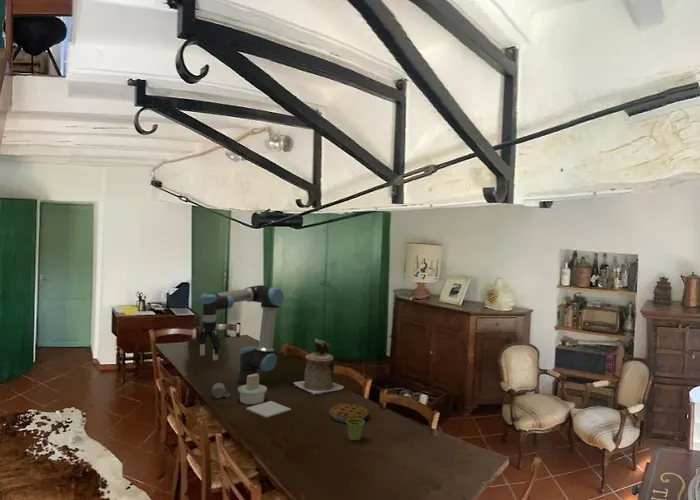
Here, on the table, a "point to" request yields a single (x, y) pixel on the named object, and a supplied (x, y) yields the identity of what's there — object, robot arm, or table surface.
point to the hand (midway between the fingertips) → (208, 357)
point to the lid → (252, 386)
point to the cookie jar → (319, 371)
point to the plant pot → (354, 428)
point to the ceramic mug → (219, 391)
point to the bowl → (252, 398)
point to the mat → (268, 409)
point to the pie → (348, 412)
